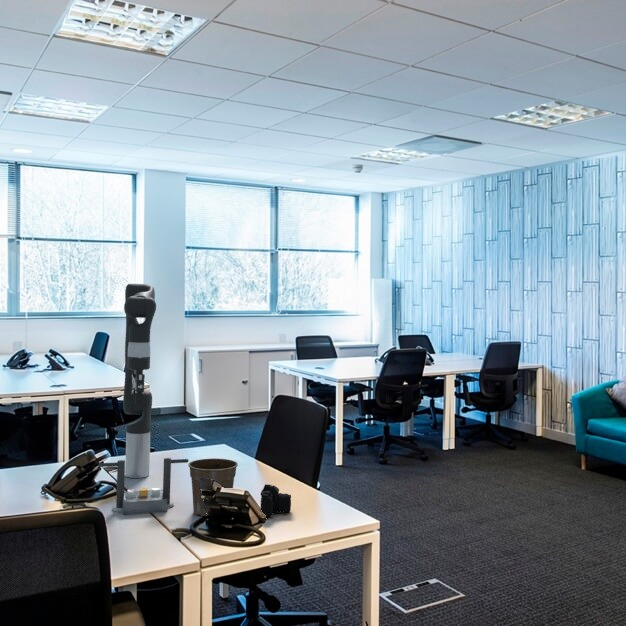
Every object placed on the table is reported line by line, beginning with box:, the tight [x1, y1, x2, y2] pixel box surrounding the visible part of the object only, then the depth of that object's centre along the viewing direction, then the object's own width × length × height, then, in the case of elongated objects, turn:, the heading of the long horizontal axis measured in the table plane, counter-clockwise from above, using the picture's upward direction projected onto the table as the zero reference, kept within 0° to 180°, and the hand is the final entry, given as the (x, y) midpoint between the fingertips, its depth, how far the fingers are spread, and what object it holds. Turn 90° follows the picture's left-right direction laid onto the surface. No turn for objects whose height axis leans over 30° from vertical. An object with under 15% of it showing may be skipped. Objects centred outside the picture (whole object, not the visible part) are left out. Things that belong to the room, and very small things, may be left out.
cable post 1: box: [98, 459, 126, 513], centre depth 220 cm, size 5×10×16 cm, turn 110°
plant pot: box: [187, 457, 239, 517], centre depth 221 cm, size 16×16×16 cm
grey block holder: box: [122, 487, 168, 516], centre depth 223 cm, size 12×14×6 cm
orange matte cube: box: [139, 487, 148, 497], centre depth 223 cm, size 2×2×2 cm
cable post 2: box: [162, 457, 189, 509], centre depth 227 cm, size 5×10×16 cm, turn 110°
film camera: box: [260, 484, 292, 520], centre depth 223 cm, size 15×10×9 cm, turn 176°
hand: (137, 402), depth 231 cm, fingers open, 8 cm apart
